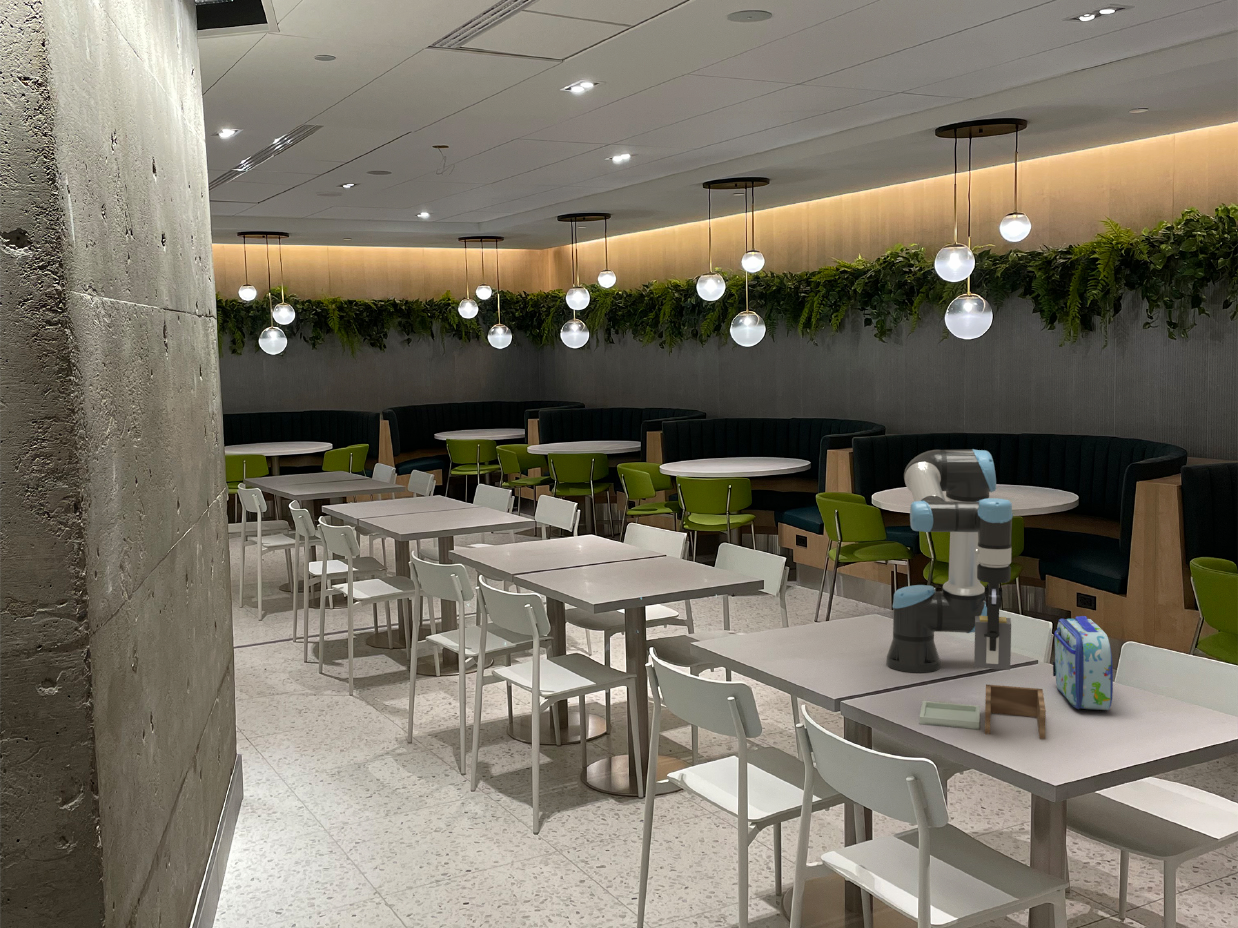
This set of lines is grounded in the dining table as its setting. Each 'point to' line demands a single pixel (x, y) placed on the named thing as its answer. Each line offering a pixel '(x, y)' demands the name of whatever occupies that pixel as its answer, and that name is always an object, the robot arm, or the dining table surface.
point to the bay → (1015, 704)
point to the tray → (950, 715)
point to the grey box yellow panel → (981, 643)
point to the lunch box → (1083, 664)
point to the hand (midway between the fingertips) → (991, 658)
